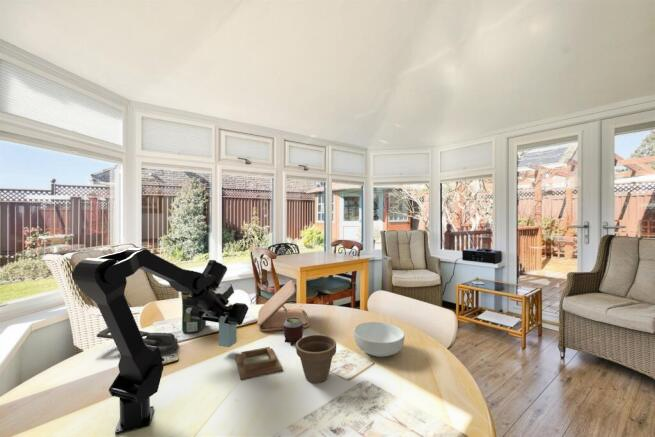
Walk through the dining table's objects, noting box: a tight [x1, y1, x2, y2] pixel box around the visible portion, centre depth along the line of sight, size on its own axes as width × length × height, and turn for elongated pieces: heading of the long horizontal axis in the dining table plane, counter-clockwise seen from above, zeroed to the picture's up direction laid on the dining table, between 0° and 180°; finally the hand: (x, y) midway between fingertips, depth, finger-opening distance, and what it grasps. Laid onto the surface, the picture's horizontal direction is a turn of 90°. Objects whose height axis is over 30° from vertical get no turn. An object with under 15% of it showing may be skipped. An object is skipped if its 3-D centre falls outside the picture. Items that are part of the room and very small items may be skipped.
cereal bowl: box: [353, 321, 405, 358], centre depth 99 cm, size 17×17×7 cm
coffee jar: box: [180, 292, 207, 334], centre depth 118 cm, size 10×8×19 cm
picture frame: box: [235, 346, 284, 381], centre depth 91 cm, size 14×12×2 cm
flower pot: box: [295, 334, 337, 384], centre depth 84 cm, size 12×11×10 cm
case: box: [256, 279, 310, 333], centre depth 126 cm, size 20×21×16 cm
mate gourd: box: [280, 305, 304, 347], centre depth 106 cm, size 8×8×15 cm
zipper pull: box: [96, 327, 179, 356], centre depth 101 cm, size 9×7×25 cm
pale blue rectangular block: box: [218, 303, 238, 348], centre depth 98 cm, size 4×4×13 cm
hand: (230, 322), depth 99 cm, fingers closed on pale blue rectangular block, 4 cm apart
